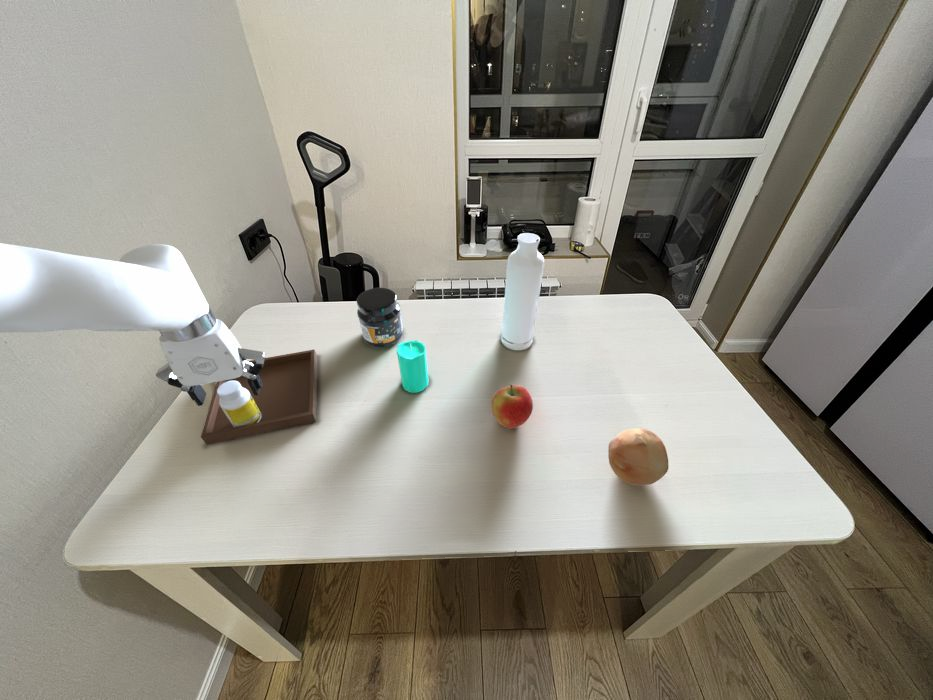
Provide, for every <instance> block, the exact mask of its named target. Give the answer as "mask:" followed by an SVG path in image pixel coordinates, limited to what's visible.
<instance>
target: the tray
mask: <svg viewBox="0 0 933 700" xmlns="http://www.w3.org/2000/svg"><path fill="white" fill-rule="evenodd" d="M316 352H317V351H316V350H315V349H314V348H313V349H310V350H309V349H308V350H304V351H297V352H292V353H286V354H280V355H274V356H268V357H265V360H264V364H263V368H262V370H261V371H260V372H259V374H258V375H259V377H260V379H261V381H262V384H263V386H262V388H260V393H259V395H254V393H253V391H252V390H251V388H250V386H249V384H248V378H246V377H244V376H240V377H238V378H234V379H229V380H224V381H218V382H215V386H214V389H213V393H212V396H211V399H210V403H209V407H208V410H207V413H206V417H205V419H204V423H203V427H202V431H201V434H200V439H201V440H202V441H203V442H204V444H205V445H206V446H209V445H214V444H219V443H222V442H228V441H231V440H232V441H233V440H237V439H242V438H247V437H251V436H256V435H262V434H266V433H269V432H275V431H280V430H285V429H289V428H294V427H298V426H304V425H308V424H313V423H316V422H317V403H318V402H317V401H318V400H317V399H318V390H317V389H318V356H317V353H316ZM246 361H247V362H250V363H252V364H255V362H256V361H255V360H252V359H250V360H246ZM244 369H246V368H244ZM246 370H248V369H246ZM248 371H249V370H248ZM227 381H238V382H239V383H240V385H241V386H242V388H245V389H247V390H248V391H249V392H250V394H251V396H252V398H253V400H254V402H255V403H256V405H257V407H258V409H259V410H260V412H261V420H260V421H259V422H258V423H253V424H248V425H243V426H238V427H234V426H233V425H232V424H231V422H230V421H229V419H228V417H227V416H226V414H225V413H224V411H223V410H222V408H221V407H220V405H219V399H220V397H219V395H218V394H217V389H218V387H219V386H220V385H222V384H223V383H225V382H227Z"/></svg>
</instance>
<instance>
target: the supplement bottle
mask: <svg viewBox="0 0 933 700" xmlns="http://www.w3.org/2000/svg"><path fill="white" fill-rule="evenodd" d="M217 394H218V395H219V397H220V399H219V405H220V407H221V408H222V410H223V411H224V413H225V414H226V416H227V417H228V419H229V421H230V422H231V424H232V425H233V426H234V427H238V426H243V425H248V424H253V423H258V422H259V421H260V420H261V412H260V410H259V409H258V407H257V405H256V403H255V402H254V400H253V398H252V396H251V394H250V392H249V391H248V390H247V389H245V388H242V386H241V385H240V383H239V382H238V381H227V382H225V383H223V384H222V385H220V386H219V387H218V389H217Z"/></svg>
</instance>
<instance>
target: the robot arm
mask: <svg viewBox="0 0 933 700" xmlns="http://www.w3.org/2000/svg"><path fill="white" fill-rule="evenodd" d="M73 330H75V331H76V330H86V331H93V332H159V334H160V336H159V338H158V340H159V343H160V347H161V350H162V352H163V355H164V357H165V359H166V362H167V363H166V364H164V365H163V366H161V367H160V368H158V369H157V371H156V373H155V377H156V378H158V379H160V380H162V381H164V382H167V385H169V386H172V387H175V388H179V389H180V391H181V392H183V393H187V395H188V396H189V397H190V399H191V400H192V401H194V403H195V404H196V405H197V406H198V407H202V406H203V405H204V403H205V400H206V397H207V392H206V391H205V389H204V387H203V386H202V385H206V384H212V383H216V382H218V381H224V380H229V379H234V378H238V377H240V376H244V377H246V378H248V384H249V386H250V388H251V390H252V391H253V393H254V395H259V393H260V388H262V386H263V384H262V381H261V379H260V377H259V375H258V374H259V372H260V371H261V370H262V368H263V364H264V360H265V358H266V352H264V351H260V350H254V349H248V348H242V346H241V344H240V343H239V342H238V340H237V338H236V337H235V336H234V334H233V333H232V331H231V329H229V327H228V326H227V325H226V324H225V323H224V322H223V321H222V319H220V318H217V317H216V316H215V314H214V312H213V311H212V308H211V306H210V304H209V303H208V301H207V300H206V297H205V295H204V294H203V292H202V290H201V288H200V286H199V284H198V282H197V280H196V278H195V276H194V275H193V272H192V271H191V269H190V267H189V265H188V263H187V261H186V259H185V257H184V255H183V254H182V252H181V251H180V250H178V248H176V247H175V246H172V245H169V244H164V243H155V244H147V245H142V246H139V247H136V248H134V249H131V250H129V251H126V252H125V253H124V254H123V255H121V257H120V259H119V260H112V259H106V258H105V259H104V258H97V257H91V256H84V255H78V254H70V253H64V252H59V251H53V250H48V249H42V248H38V247H37V248H36V247H30V246H25V245H24V246H23V245H16V244H10V243H2V242H0V333H41V332H43V333H44V332H57V331H73ZM248 360H255V361H256V362H255V364H252V363H250V362H247V361H248ZM244 368H246V369H248V370H249V371H248V370H246V369H244Z"/></svg>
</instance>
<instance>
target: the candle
mask: <svg viewBox="0 0 933 700" xmlns="http://www.w3.org/2000/svg"><path fill="white" fill-rule="evenodd" d="M396 355H397V360H398V361H397V362H398V368H399V374H400V380H401V386H402V387H403V389H404V390H405V391H406V392H408V393H415V394H417V393H420V392H422V391H424V390H425V389H426V388H427V387H428V386H429V373H428V372H429V371H428V361H427V350H426V345H425V344H424V343H423V342H422V341H419V340H407V341H402V342H401V343H399V344H398V345H397V348H396Z"/></svg>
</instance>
